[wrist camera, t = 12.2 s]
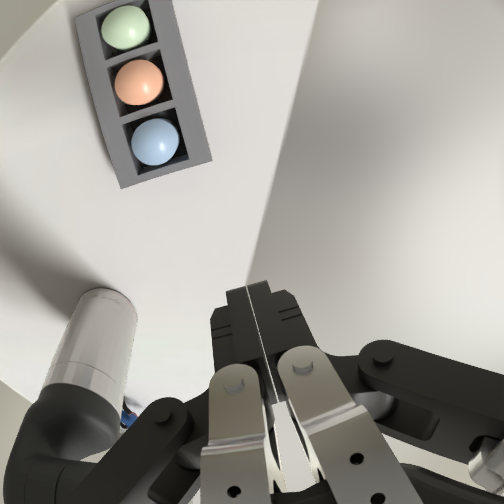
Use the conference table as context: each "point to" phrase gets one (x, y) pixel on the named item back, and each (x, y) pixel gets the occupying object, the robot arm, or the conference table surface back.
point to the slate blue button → (155, 141)
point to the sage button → (126, 28)
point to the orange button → (139, 82)
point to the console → (118, 120)
